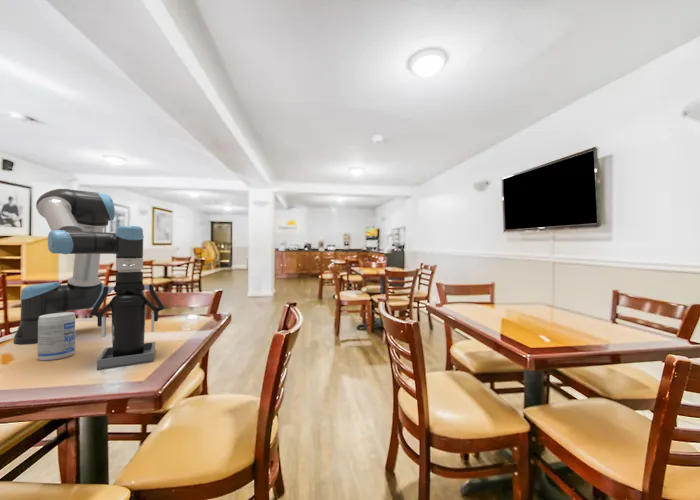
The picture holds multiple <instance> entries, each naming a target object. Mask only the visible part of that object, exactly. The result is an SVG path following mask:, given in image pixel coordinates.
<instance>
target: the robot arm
mask: <svg viewBox="0 0 700 500" xmlns="http://www.w3.org/2000/svg"><path fill="white" fill-rule="evenodd" d="M35 207H36V210H37V212H38V214H39V215H40V216H41V217H42V218H44V219H45V221H46V222H47V225H48V227H49V229H50V231H49V233H48V235H47V246H48V247H47V249H48V251H49V252H50V253H52V254H59V255H60V254H62V255H73V254H74V258H73V259H74V263H73V271H72V272H73V273H72V276H71V277H70V278H69V279H68V280H67V282H66V283H67V284H61V283H60V282H59V281H57V282H56V281H55V282H45V283H38V284H32V285H29V286H25V287H23V288H22V289H21V291H20V292H21V293H20V298H19V300H20V323H19V325H18V327H17V330H16V332H15V334H14V337H13V344H15V345H30V344H31V345H32V344H38V320H39V316H42V315H46V314H54V313H65V312H71V311H79V310H82V311H83V310H90V309H92V310H91V312H90V313H89V315H90V316H94V317H96V318H97V327H98V328H99V327H101V338H105V337H106V336H107V315H105V313H107V311H108V310H110V309H111V306H110V302H108V303H107V304H106V306H104V307H103V308H102V309H101V310H100V311H99V309H100V308H101V306H102V305H103V304H104V301H105V300H106V298H107V296H108V294H110V293H111V292H112V291H122V292H120V293H119V294H124V293H126V291H131V292H135V291H136V290H142V291H144V290H145V289H146V291H147V292H149V293H150V295H151V296H152V298H153V300H154V302H155V303H156V305H157V306H158V307H157V306H156V305H155V304H154V303H153V302H152V301H150V300H149V299H148V298H147V297H146V298H147V299H146V298H145V299H146V307H147V306H148V307H149V308H150V309H151V310H152V311H151V316H150V317H151V318H150V319H151V322H150V323H151V325H150V326H151V328H150V329H151V333H152V332H155V322H158V321H159V312H161V311H163V310H164V309H165V306H164V305H163V302H162V301H161V299H160V298H159V296H158V295H157V292H156V291H155V288H154V287H155V286H154V284H153V283H150V284H146V285H145V284H144V278H143V277H144V272H143V271H142V270H143V269H144V238H145V237H144V229H143V228H142V227H141V226H138V225H136V226H135V225H117V226H116V230H115V232H104V228H106V227H107V226H108V225H109V222H111V221H113V220H114V219H115V216H116V213H115V212H116V211H115V210H116V209H115V203H114V201H113V199H112V197H111V196H110V195H109V194H106V193H100V192H95V191H85V190H78V189H77V190H76V189H69V188H56V189H52V190H49V191H47V192H45V193H43V194H41V195H40V196H39V198H38V199H37V200H36V204H35ZM101 254H102V255H105V254H106V255H111V254H112V255H115V270H116V271H117V272H116V273H115V285H114V286H110V285H106V284H105V283H103V282H102V279H100V278H99V277H98V276H99V269H100V261H101V260H100V258H101ZM116 293H118V292H115V294H116ZM119 294H118V295H119Z"/></svg>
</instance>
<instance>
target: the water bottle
mask: <svg viewBox="0 0 700 500" xmlns="http://www.w3.org/2000/svg"><path fill="white" fill-rule="evenodd" d="M113 291H114V290H113ZM116 292H118V293H116ZM120 292H122V291H114V293H115V295H114V296H113V297H112V298H111V300H109V303H110V306H111V307H110V309H111V344H112V347H113V358H114V357H121V356H128V355H136V354H143V353H144V343H145V333H146V330H145V328H146V309H147V308H146V307H147V305H146V299H148V298H147V297H146V295H145V293H144V292H145V291H144V290H143V291H142V290H136V291H135V292H131V291H126V293H124V294H119V293H120ZM118 294H119V295H118ZM145 298H146V299H145Z"/></svg>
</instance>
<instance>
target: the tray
mask: <svg viewBox="0 0 700 500" xmlns="http://www.w3.org/2000/svg"><path fill="white" fill-rule="evenodd" d="M155 353H156V341H152V342H144V353H143V354H136V355H128V356H121V357H114V358H113V346H111V347H105V348H104V349H103V351H102V353H101V354H100V355H99V357H98V358H97V359H96V371H102V370H107V369H115V368H121V367H128V366H133V365H142V364H147V363H154V359H155V355H156V354H155Z"/></svg>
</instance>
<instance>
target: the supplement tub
mask: <svg viewBox="0 0 700 500" xmlns="http://www.w3.org/2000/svg"><path fill="white" fill-rule="evenodd" d="M75 352H76V312H71V311H65V312H60V313H54V314H46V315H42V316H39V320H38V343H37V359H38V360H39V361H54V360H59V359H65V358H69V357H71V356H72V355H74V354H75Z"/></svg>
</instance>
